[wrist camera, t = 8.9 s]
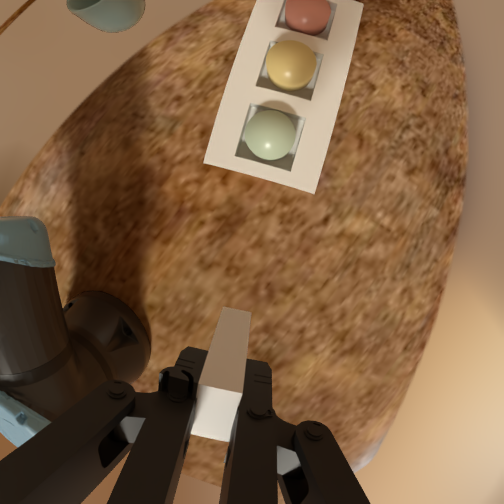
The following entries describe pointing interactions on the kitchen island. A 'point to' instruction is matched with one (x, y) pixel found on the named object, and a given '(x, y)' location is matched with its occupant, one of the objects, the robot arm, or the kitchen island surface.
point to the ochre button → (290, 65)
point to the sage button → (270, 135)
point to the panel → (285, 95)
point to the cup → (108, 13)
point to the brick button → (307, 16)
